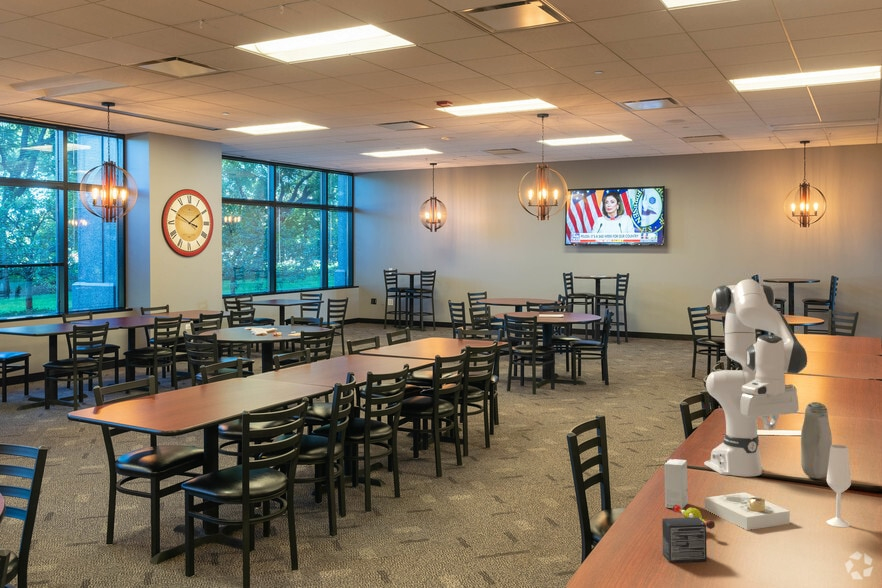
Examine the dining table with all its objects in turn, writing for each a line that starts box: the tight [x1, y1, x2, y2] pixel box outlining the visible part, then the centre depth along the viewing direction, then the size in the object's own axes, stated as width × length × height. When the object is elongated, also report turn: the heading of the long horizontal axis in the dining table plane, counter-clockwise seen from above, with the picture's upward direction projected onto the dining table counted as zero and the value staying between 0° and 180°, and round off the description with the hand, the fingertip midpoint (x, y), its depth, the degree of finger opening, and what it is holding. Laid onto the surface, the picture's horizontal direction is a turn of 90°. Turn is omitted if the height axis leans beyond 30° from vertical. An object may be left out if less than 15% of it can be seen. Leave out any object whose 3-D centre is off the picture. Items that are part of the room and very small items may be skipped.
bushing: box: [750, 496, 766, 512], centre depth 239 cm, size 4×4×7 cm
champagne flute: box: [825, 444, 852, 528], centre depth 236 cm, size 7×7×24 cm
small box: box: [661, 517, 708, 564], centre depth 212 cm, size 11×6×10 cm, turn 92°
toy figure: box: [671, 505, 716, 530], centre depth 233 cm, size 18×6×7 cm, turn 21°
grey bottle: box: [800, 401, 833, 480], centre depth 283 cm, size 10×10×28 cm
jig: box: [704, 492, 791, 531], centre depth 244 cm, size 20×16×4 cm
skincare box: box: [664, 458, 689, 510], centre depth 255 cm, size 8×6×15 cm
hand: (769, 428), depth 246 cm, fingers closed
